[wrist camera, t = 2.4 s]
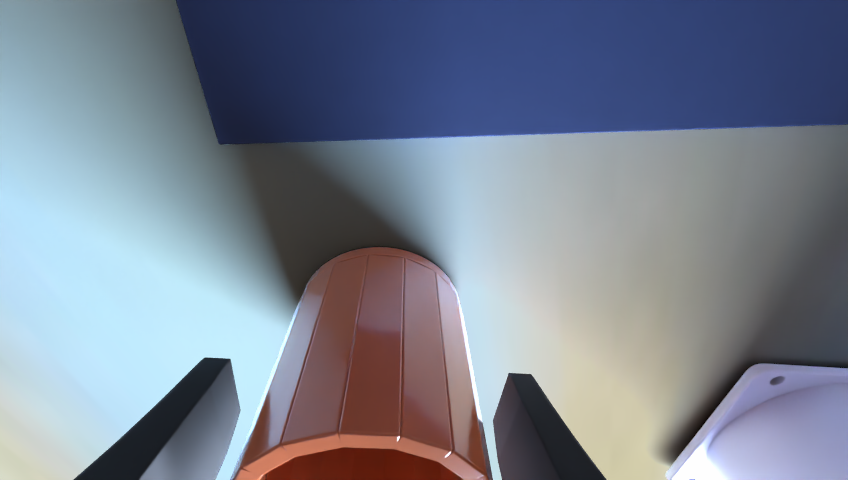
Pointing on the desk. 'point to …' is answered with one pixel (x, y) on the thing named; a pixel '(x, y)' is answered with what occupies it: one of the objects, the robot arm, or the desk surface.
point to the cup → (371, 380)
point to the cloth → (514, 66)
